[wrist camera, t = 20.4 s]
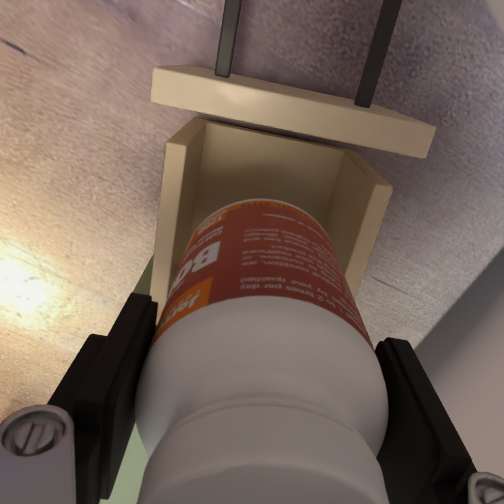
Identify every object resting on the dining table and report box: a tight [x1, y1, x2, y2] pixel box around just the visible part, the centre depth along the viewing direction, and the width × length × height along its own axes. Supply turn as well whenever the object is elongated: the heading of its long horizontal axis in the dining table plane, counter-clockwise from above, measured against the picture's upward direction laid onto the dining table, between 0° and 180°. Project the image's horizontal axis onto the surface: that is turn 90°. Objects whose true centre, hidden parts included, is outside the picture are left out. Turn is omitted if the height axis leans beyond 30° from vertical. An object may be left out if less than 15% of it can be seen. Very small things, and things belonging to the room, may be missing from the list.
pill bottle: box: [135, 198, 389, 504], centre depth 12 cm, size 6×6×11 cm
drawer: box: [150, 0, 436, 330], centre depth 20 cm, size 19×10×8 cm, turn 169°
